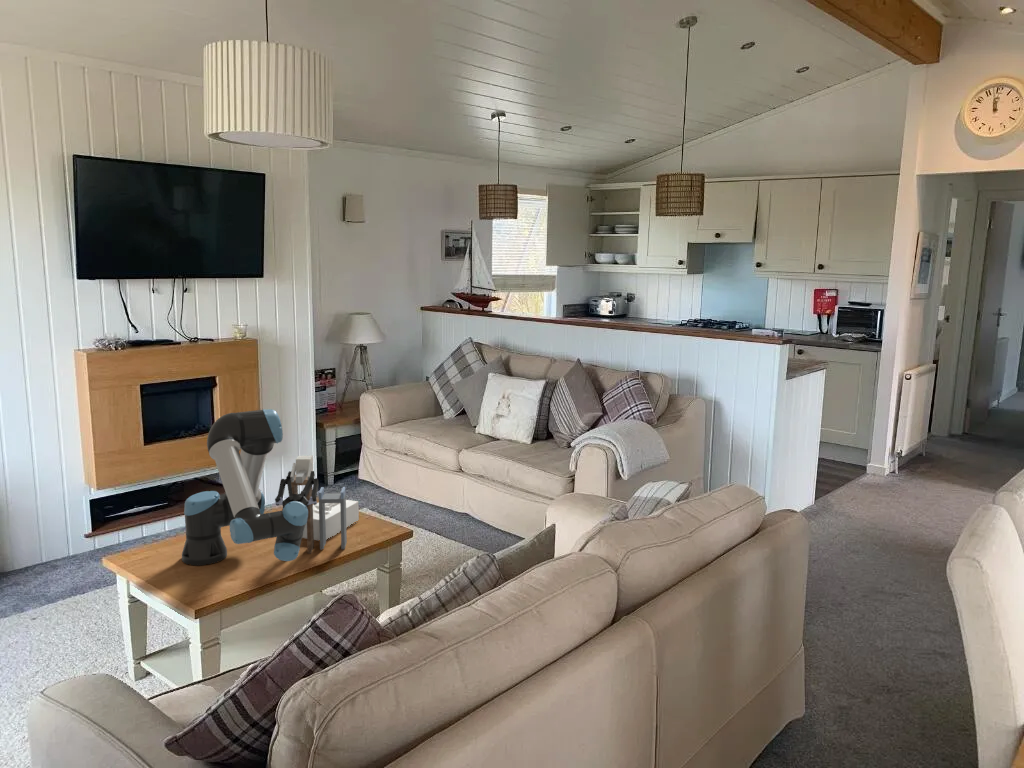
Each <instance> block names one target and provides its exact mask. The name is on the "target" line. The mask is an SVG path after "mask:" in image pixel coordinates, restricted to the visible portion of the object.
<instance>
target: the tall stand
mask: <svg viewBox="0 0 1024 768" xmlns="http://www.w3.org/2000/svg"><path fill="white" fill-rule="evenodd" d="M307 481H308V478H307V477H306V478H305V480H304V481H303V483H296V474H295V478H294V482H291V486H292V492H293V494H299V491H298V490H299V488H298V486H305V485H306V483H307ZM312 489H313V486H312V487H311V489H310V491H309V493H308V495H307V497H306V499H307V500H308V501H309V500H310V497H312ZM313 505H314V504H310V505H309V506H308V507H307V509H308V518H307V538H306V539H307V541H306V543H307V544H306V545H307V546H306V547H307V554H308V555H309V554H312V553H313V550H314V548H315V540H314V531H313Z"/></svg>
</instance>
